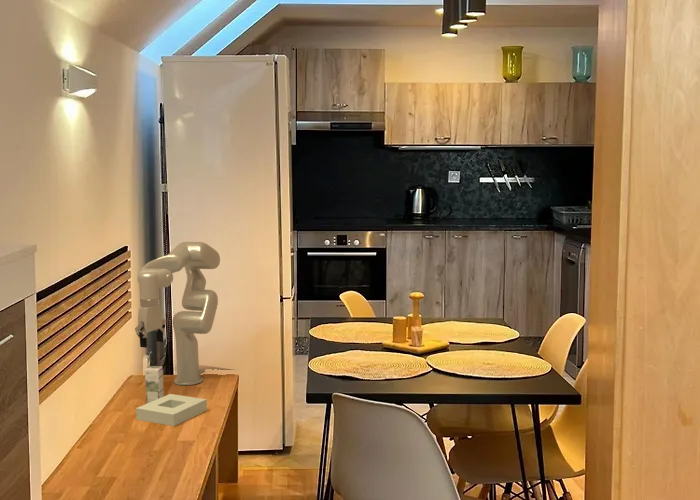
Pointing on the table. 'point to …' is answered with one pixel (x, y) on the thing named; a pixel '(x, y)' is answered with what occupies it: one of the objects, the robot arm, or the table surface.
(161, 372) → the syrup box
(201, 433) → the table surface
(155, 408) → the socket holder
